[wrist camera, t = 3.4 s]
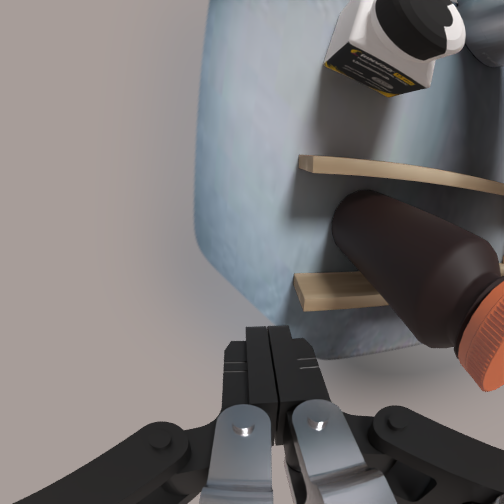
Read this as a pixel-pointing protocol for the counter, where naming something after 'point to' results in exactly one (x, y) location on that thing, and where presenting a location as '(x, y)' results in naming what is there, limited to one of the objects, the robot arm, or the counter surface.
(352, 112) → the counter surface
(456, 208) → the counter surface
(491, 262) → the vinegar
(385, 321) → the counter surface
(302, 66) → the counter surface
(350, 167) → the u rest
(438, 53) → the medicine bottle
